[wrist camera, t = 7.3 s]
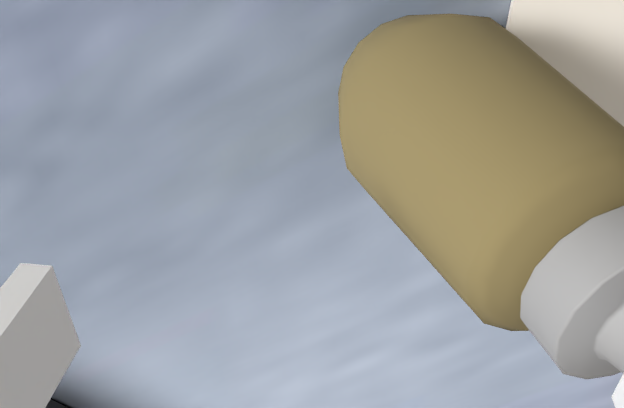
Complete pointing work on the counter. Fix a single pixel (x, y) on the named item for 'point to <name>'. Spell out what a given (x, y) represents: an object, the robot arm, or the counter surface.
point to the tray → (578, 44)
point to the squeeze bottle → (495, 178)
